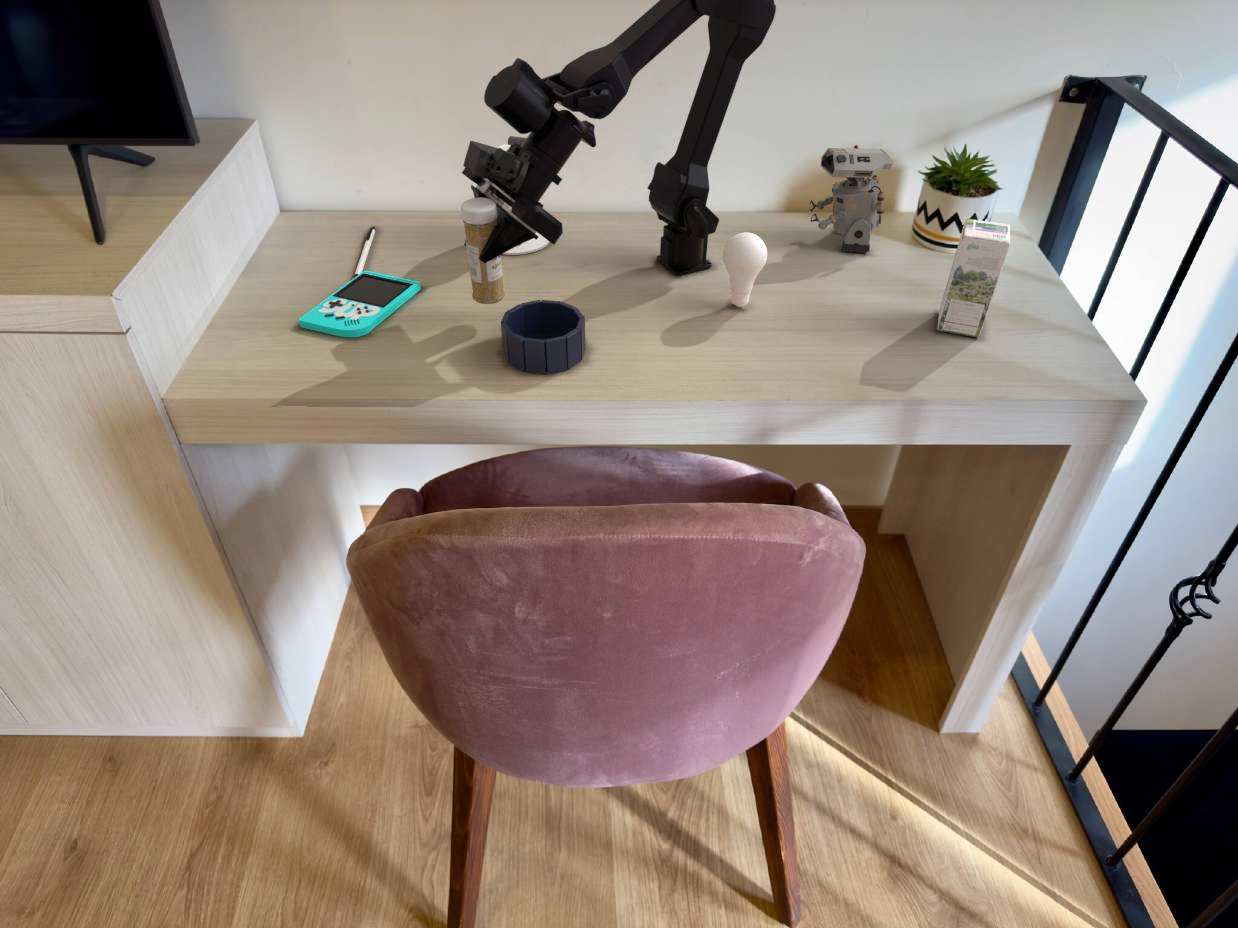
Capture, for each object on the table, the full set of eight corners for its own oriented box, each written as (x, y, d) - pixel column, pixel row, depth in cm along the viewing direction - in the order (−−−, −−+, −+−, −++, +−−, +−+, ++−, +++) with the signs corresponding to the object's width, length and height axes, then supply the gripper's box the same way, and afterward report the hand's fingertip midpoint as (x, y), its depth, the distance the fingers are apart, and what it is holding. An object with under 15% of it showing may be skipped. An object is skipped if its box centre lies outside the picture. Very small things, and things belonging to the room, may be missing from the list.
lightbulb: (765, 301, 125) (775, 230, 118) (752, 320, 120) (762, 247, 113) (726, 292, 127) (733, 221, 120) (711, 311, 122) (718, 239, 115)
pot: (541, 323, 119) (540, 292, 116) (600, 348, 114) (600, 317, 111) (487, 355, 113) (484, 323, 110) (547, 383, 108) (546, 351, 105)
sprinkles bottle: (507, 303, 116) (498, 209, 108) (473, 307, 115) (462, 212, 107) (502, 287, 120) (494, 194, 111) (470, 291, 119) (458, 197, 110)
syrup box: (980, 319, 121) (1011, 222, 112) (979, 340, 117) (1011, 240, 108) (938, 312, 123) (965, 215, 113) (936, 332, 118) (964, 234, 109)
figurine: (802, 227, 144) (816, 137, 135) (871, 231, 143) (890, 140, 134) (805, 251, 137) (820, 158, 128) (878, 255, 136) (898, 162, 127)
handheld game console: (297, 326, 118) (295, 318, 117) (364, 276, 129) (363, 268, 129) (359, 341, 115) (357, 332, 114) (422, 288, 127) (421, 280, 126)
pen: (376, 230, 142) (375, 223, 142) (359, 284, 128) (357, 277, 127) (371, 230, 142) (370, 223, 142) (352, 284, 128) (351, 278, 127)
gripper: (467, 96, 110) (400, 197, 113) (534, 139, 98) (457, 252, 101) (526, 146, 118) (462, 239, 121) (595, 192, 106) (522, 294, 109)
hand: (474, 254), depth 113 cm, fingers closed on sprinkles bottle, 4 cm apart
